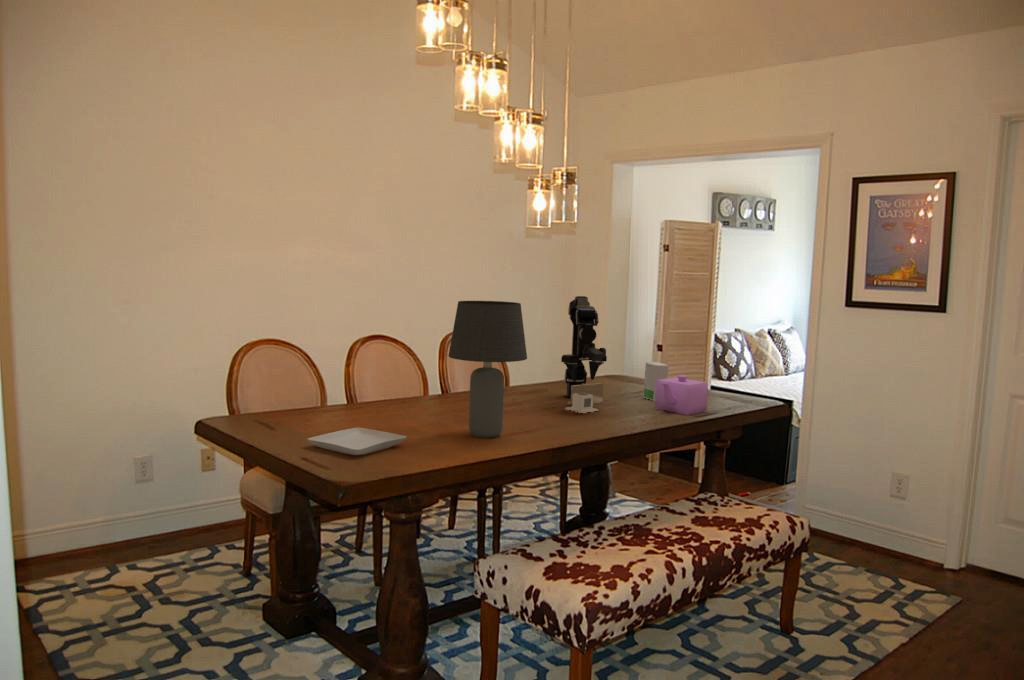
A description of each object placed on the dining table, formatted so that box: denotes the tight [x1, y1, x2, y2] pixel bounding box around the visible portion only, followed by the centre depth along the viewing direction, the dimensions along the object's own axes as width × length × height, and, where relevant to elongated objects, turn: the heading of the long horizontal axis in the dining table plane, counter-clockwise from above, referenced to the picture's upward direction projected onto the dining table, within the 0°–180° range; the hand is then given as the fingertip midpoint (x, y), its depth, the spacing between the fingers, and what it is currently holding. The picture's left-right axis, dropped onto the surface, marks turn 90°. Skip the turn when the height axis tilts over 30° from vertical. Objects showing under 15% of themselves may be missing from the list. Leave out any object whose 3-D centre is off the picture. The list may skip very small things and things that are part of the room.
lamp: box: [448, 300, 528, 439], centre depth 243 cm, size 25×25×43 cm
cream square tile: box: [565, 406, 600, 414], centre depth 293 cm, size 9×9×1 cm
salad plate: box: [307, 427, 407, 456], centre depth 225 cm, size 21×21×3 cm
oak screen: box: [567, 382, 604, 406], centre depth 306 cm, size 5×16×8 cm, turn 127°
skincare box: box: [642, 361, 669, 402], centre depth 322 cm, size 8×7×16 cm
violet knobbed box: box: [654, 374, 709, 416], centre depth 299 cm, size 15×25×14 cm, turn 133°
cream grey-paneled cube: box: [571, 393, 594, 410], centre depth 292 cm, size 6×6×6 cm
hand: (583, 380), depth 291 cm, fingers open, 9 cm apart
